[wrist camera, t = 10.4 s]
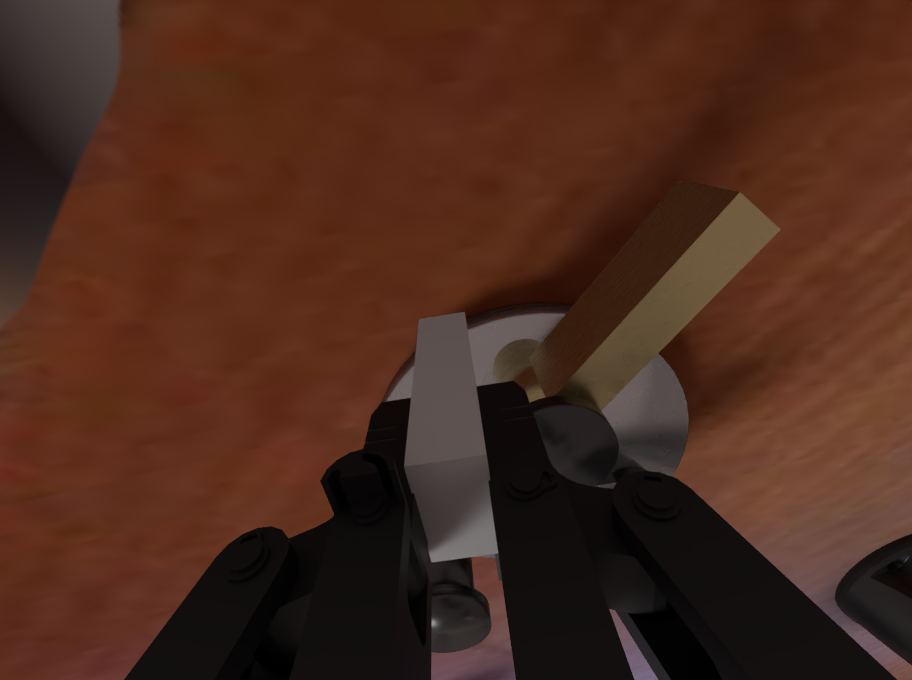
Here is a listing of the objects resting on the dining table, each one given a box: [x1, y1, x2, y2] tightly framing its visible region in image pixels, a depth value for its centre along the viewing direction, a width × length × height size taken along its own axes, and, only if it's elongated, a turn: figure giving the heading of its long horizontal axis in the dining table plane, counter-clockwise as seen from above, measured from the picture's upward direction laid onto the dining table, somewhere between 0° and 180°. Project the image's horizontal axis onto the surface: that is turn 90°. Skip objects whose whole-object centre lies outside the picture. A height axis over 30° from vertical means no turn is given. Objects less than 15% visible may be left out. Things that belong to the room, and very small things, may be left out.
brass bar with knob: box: [493, 180, 780, 486], centre depth 19 cm, size 15×5×8 cm, turn 146°
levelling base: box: [382, 303, 689, 653], centre depth 26 cm, size 22×22×10 cm
